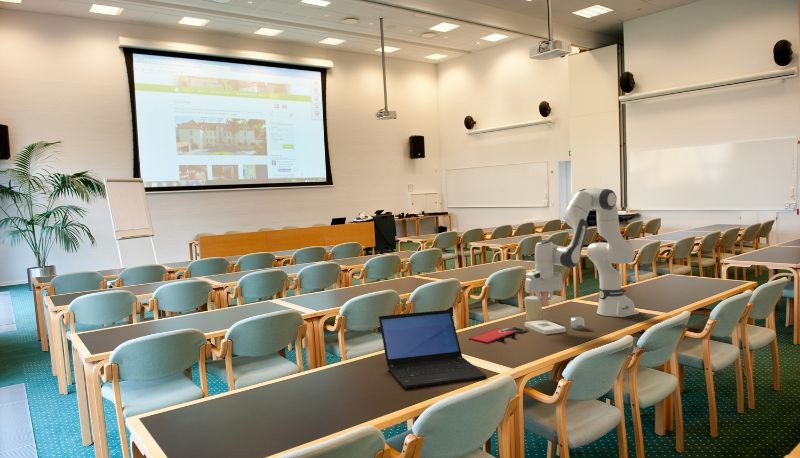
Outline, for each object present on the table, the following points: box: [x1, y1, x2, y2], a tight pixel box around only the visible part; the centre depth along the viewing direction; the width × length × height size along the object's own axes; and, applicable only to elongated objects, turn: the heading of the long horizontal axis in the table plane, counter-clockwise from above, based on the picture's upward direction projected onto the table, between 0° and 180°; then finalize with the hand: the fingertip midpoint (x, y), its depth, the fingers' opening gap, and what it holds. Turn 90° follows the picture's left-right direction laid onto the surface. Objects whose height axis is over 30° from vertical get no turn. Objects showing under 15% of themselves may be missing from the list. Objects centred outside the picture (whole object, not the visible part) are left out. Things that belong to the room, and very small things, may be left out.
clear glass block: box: [570, 316, 585, 331], centre depth 273 cm, size 6×6×5 cm
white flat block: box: [524, 319, 567, 336], centre depth 274 cm, size 12×18×2 cm, turn 18°
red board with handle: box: [468, 326, 529, 345], centre depth 265 cm, size 30×3×15 cm
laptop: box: [378, 309, 488, 389], centre depth 220 cm, size 33×38×19 cm
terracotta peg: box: [539, 292, 550, 307], centre depth 273 cm, size 4×4×7 cm
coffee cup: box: [524, 295, 543, 322], centre depth 292 cm, size 9×9×12 cm
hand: (544, 300), depth 273 cm, fingers closed on terracotta peg, 4 cm apart
